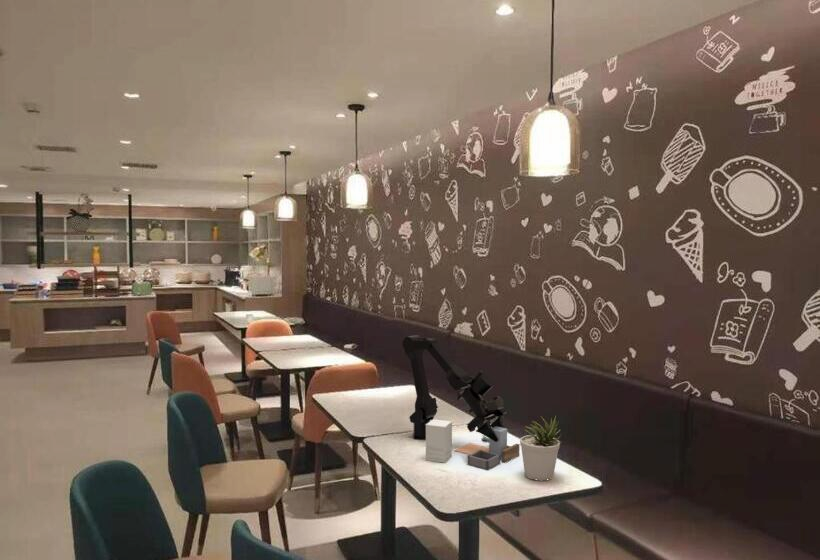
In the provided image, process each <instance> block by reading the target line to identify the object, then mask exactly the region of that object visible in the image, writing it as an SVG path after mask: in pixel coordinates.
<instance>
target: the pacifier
mask: <svg viewBox="0 0 820 560" xmlns="http://www.w3.org/2000/svg"><path fill="white" fill-rule="evenodd" d="M491 428H492V427H491ZM481 436H482V437H481V440H483V441H486V442H489V438H488V437H487V436H485V435H483V434H481Z"/></svg>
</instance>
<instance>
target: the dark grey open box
mask: <svg viewBox="0 0 820 560" xmlns="http://www.w3.org/2000/svg"><path fill="white" fill-rule="evenodd" d="M498 464H499V465H500V464H501V460H500V455H498V454H495V453H491V452H487V451H483V450H479V451H477V452H475V453H472V454H470V455H467V465H469V466H471V467H475V468H477V469H478V468H479V469H483V470H484V471H485V470H486V471H490V470H491V469H493V468H495V467H496V465H497V466H498Z"/></svg>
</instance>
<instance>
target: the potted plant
mask: <svg viewBox="0 0 820 560" xmlns="http://www.w3.org/2000/svg"><path fill="white" fill-rule="evenodd" d="M556 418H557V415H555V417H554V419H553V421H552V418H550V424H549V423H548V422H547V421H546V420H545V419H544V418H543V417H541V419H542V421H543V422H544V426H545V428H544V427H543V426H542V425H541V424H539V423H537V422H536V421H532V424H529V426H526V425H525V426H524V427H526V428H527V429H529V431H528V430H527V429H524V431H525V432H527V433H528V435H524V436H522V437H520V438H519V443H520V445H519V446H520V449H521V455H522V460H523V461H522V462H523V470H524V475H525V476H526V477H527V478H528V477H529V478H528V479H530V478H531V480H533V479H537V480H536V481H538V480H546V481H548V480H547V479H550V480H551V478H552V479H553V478H554V475H555V469H556V464H557V459H558V454H559V453H558V452H559V449H560V446H561V443H562V441H560V440H559V439H560V438H561V436H562V434H563V433H561V434H560V436H558V437H557V438H555V436H556V435H557V434H558V433H559V432H561V429H558V427H557V426H558V424H559V422H560V421H559V420H558V421H557V420H556ZM533 424H534V425H533ZM530 426H531V427H530ZM538 426H539V427H540V428H539V427H538ZM557 429H558V431H557ZM530 431H532V432H530ZM533 433H534V434H533Z"/></svg>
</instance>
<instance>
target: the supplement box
mask: <svg viewBox="0 0 820 560" xmlns="http://www.w3.org/2000/svg"><path fill="white" fill-rule="evenodd" d="M452 438H453V422H452V421H450V420H441V419H434V418H433V420H430V422H429V423H427V424H426V439H425V460H426V461H430V462H431V461H432V462H438V463H442V464H443V463H444V464H446V462H448V461H449V460H450V459H451V458H452V457H453V442H452V441H453V439H452Z"/></svg>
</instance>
